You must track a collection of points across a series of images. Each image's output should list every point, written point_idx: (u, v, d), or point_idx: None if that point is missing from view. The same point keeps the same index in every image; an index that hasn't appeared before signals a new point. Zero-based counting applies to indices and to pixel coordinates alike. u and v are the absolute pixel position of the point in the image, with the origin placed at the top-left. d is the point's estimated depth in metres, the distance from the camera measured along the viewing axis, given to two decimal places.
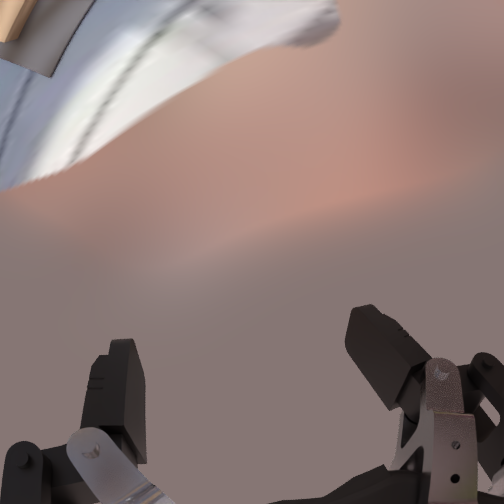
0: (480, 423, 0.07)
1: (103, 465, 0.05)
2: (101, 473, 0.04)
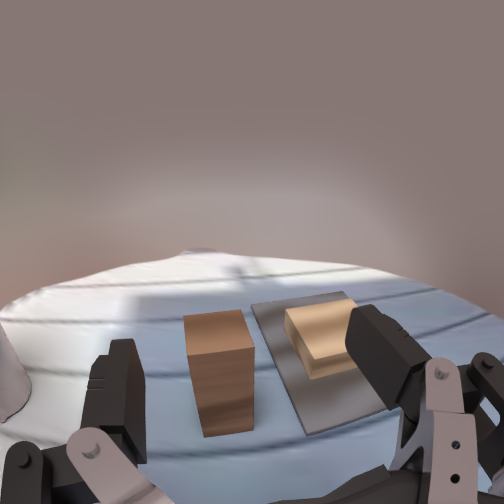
0: (480, 423, 0.07)
1: (103, 465, 0.05)
2: (101, 473, 0.04)
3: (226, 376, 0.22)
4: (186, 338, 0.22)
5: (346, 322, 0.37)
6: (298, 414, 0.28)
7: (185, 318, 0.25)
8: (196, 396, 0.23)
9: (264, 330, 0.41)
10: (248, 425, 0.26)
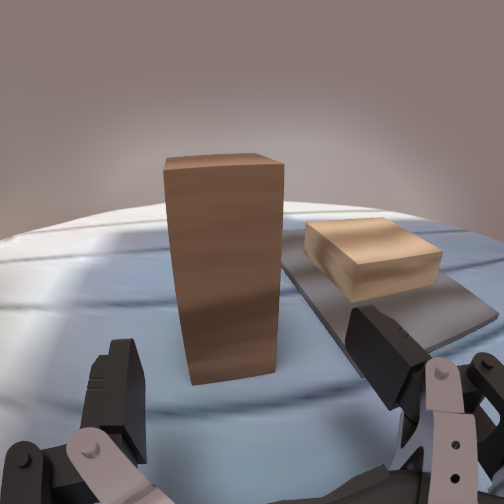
0: (480, 423, 0.07)
1: (103, 465, 0.05)
2: (101, 473, 0.04)
3: (233, 230, 0.13)
4: (166, 163, 0.13)
5: (386, 234, 0.28)
6: (344, 345, 0.19)
7: (169, 158, 0.15)
8: (176, 280, 0.13)
9: None
10: (267, 360, 0.17)
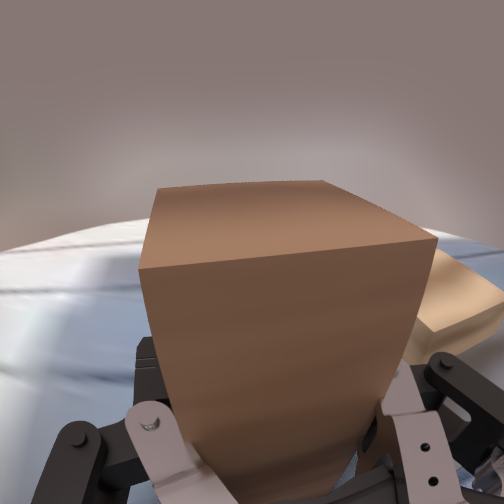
0: (447, 421, 0.07)
1: (159, 439, 0.05)
2: (165, 443, 0.05)
3: (316, 381, 0.05)
4: (153, 220, 0.05)
5: (447, 274, 0.20)
6: None
7: (162, 191, 0.08)
8: None
9: None
10: (323, 490, 0.09)
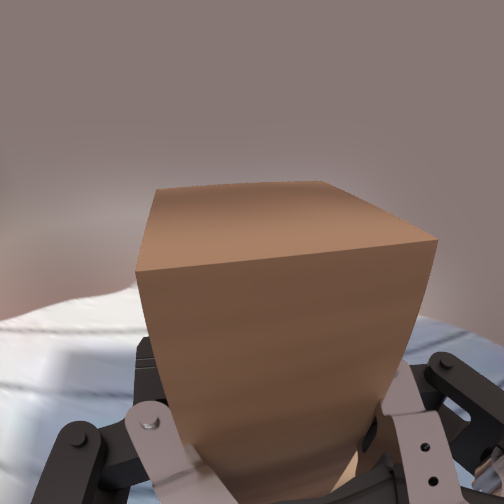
0: (447, 421, 0.07)
1: (159, 438, 0.05)
2: (165, 443, 0.05)
3: (315, 383, 0.05)
4: (151, 222, 0.05)
5: None
6: None
7: (161, 192, 0.08)
8: None
9: None
10: (322, 491, 0.09)
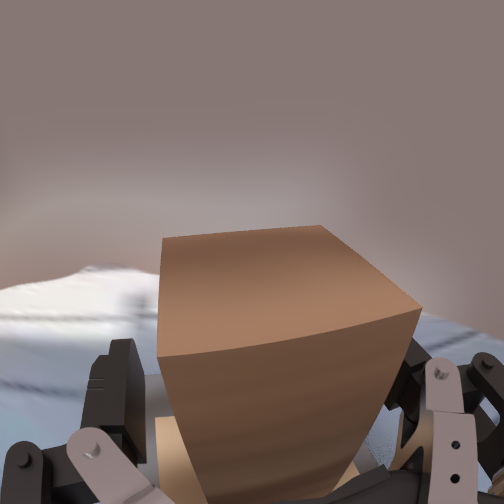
0: (480, 423, 0.07)
1: (103, 465, 0.05)
2: (101, 473, 0.04)
3: (308, 423, 0.06)
4: (162, 291, 0.06)
5: None
6: None
7: (167, 243, 0.08)
8: (202, 478, 0.06)
9: None
10: None
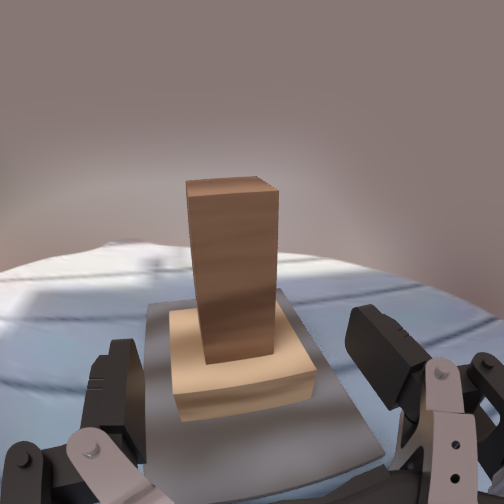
0: (480, 423, 0.07)
1: (103, 465, 0.05)
2: (101, 473, 0.04)
3: (240, 240, 0.17)
4: (188, 189, 0.17)
5: None
6: (144, 474, 0.15)
7: (188, 181, 0.20)
8: (197, 278, 0.18)
9: (147, 339, 0.28)
10: (267, 344, 0.21)
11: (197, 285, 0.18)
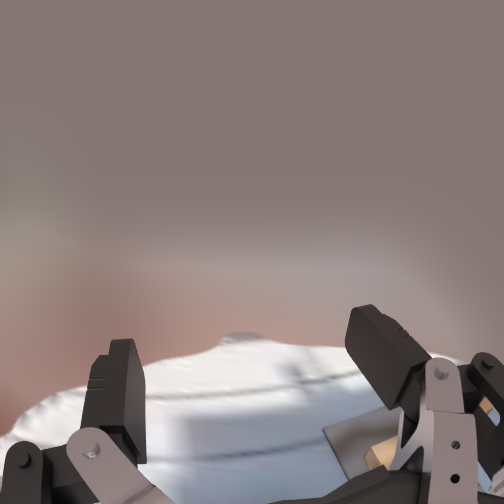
0: (480, 423, 0.07)
1: (103, 465, 0.05)
2: (101, 473, 0.04)
3: None
4: None
5: None
6: None
7: None
8: None
9: (344, 464, 0.30)
10: None
11: None
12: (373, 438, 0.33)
